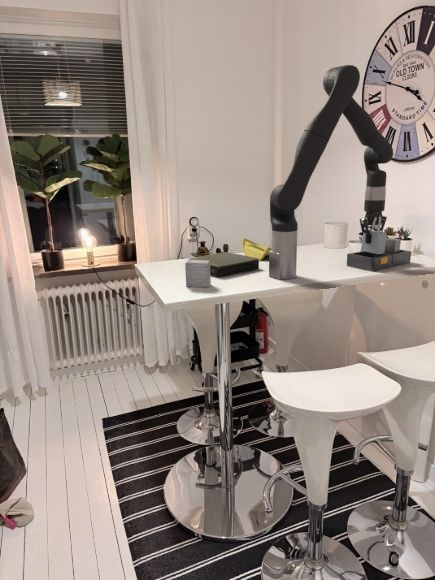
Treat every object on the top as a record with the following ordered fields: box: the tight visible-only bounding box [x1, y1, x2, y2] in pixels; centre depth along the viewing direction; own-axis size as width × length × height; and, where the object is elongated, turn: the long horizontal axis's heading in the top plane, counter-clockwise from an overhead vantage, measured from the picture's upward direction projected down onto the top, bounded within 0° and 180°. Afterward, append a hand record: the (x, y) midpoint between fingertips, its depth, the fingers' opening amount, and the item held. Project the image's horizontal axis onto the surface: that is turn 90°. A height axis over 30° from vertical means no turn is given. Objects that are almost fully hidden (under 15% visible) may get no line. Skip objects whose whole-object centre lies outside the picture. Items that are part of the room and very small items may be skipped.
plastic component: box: [241, 237, 271, 262], centre depth 195 cm, size 20×7×10 cm
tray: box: [346, 237, 412, 273], centre depth 172 cm, size 24×13×10 cm, turn 123°
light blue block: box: [361, 230, 387, 254], centre depth 167 cm, size 4×8×8 cm, turn 33°
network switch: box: [187, 251, 260, 278], centre depth 171 cm, size 23×23×5 cm
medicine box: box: [184, 260, 212, 288], centre depth 146 cm, size 8×4×9 cm, turn 78°
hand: (371, 242), depth 168 cm, fingers closed on light blue block, 3 cm apart
